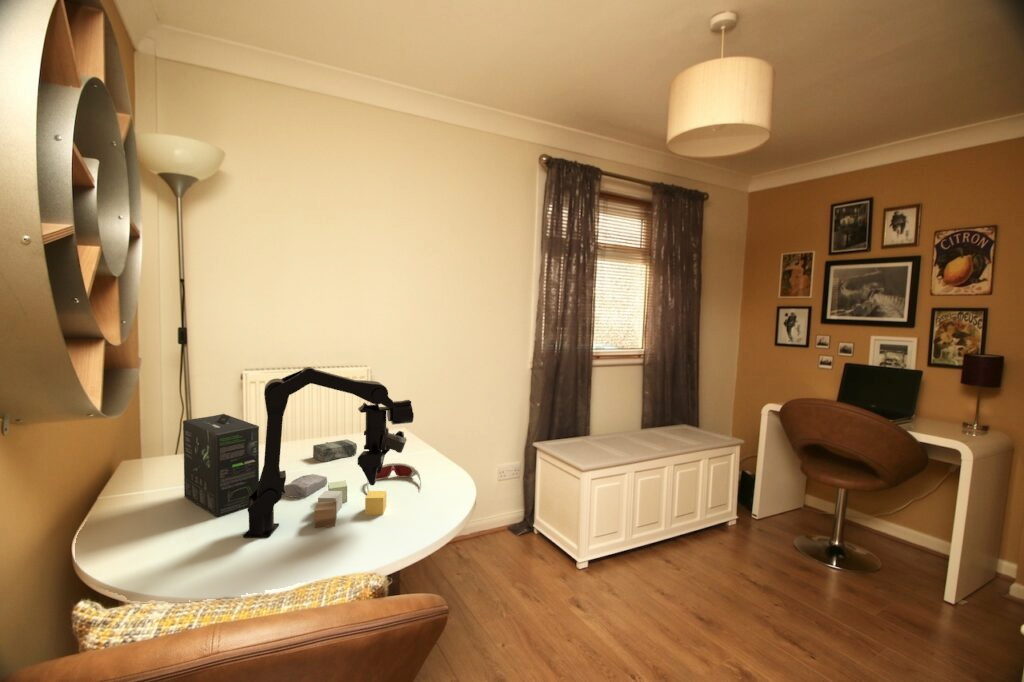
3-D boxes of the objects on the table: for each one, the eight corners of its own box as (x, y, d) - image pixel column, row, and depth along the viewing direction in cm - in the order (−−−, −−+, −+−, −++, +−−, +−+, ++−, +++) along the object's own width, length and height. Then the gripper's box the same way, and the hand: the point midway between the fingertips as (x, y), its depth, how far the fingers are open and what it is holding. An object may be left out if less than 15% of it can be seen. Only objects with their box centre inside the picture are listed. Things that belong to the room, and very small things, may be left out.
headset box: (261, 503, 134) (259, 418, 132) (216, 518, 124) (214, 426, 122) (225, 485, 147) (224, 407, 145) (182, 498, 137) (180, 414, 135)
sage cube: (347, 502, 137) (347, 486, 136) (329, 504, 135) (329, 488, 134) (345, 495, 141) (345, 480, 141) (328, 498, 139) (328, 482, 139)
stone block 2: (358, 455, 181) (358, 442, 180) (323, 464, 170) (323, 450, 169) (347, 450, 186) (347, 437, 186) (312, 458, 176) (312, 445, 175)
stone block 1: (279, 501, 140) (307, 498, 138) (276, 486, 140) (304, 483, 138) (304, 488, 152) (330, 485, 150) (302, 474, 152) (328, 471, 150)
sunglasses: (417, 473, 162) (418, 461, 161) (423, 500, 146) (423, 487, 145) (367, 478, 156) (367, 465, 155) (366, 506, 141) (366, 492, 140)
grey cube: (335, 515, 128) (335, 498, 128) (318, 515, 128) (318, 497, 128) (342, 507, 133) (342, 491, 133) (325, 507, 133) (325, 490, 133)
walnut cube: (334, 526, 122) (334, 508, 121) (314, 528, 120) (314, 510, 120) (336, 518, 126) (336, 501, 126) (317, 520, 125) (317, 502, 125)
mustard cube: (383, 514, 129) (383, 497, 129) (365, 515, 129) (365, 498, 128) (386, 507, 134) (386, 490, 134) (369, 507, 134) (369, 490, 133)
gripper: (399, 434, 121) (399, 491, 122) (408, 418, 140) (408, 467, 141) (357, 435, 120) (357, 492, 121) (371, 418, 139) (371, 467, 140)
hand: (375, 479), depth 131 cm, fingers open, 9 cm apart
